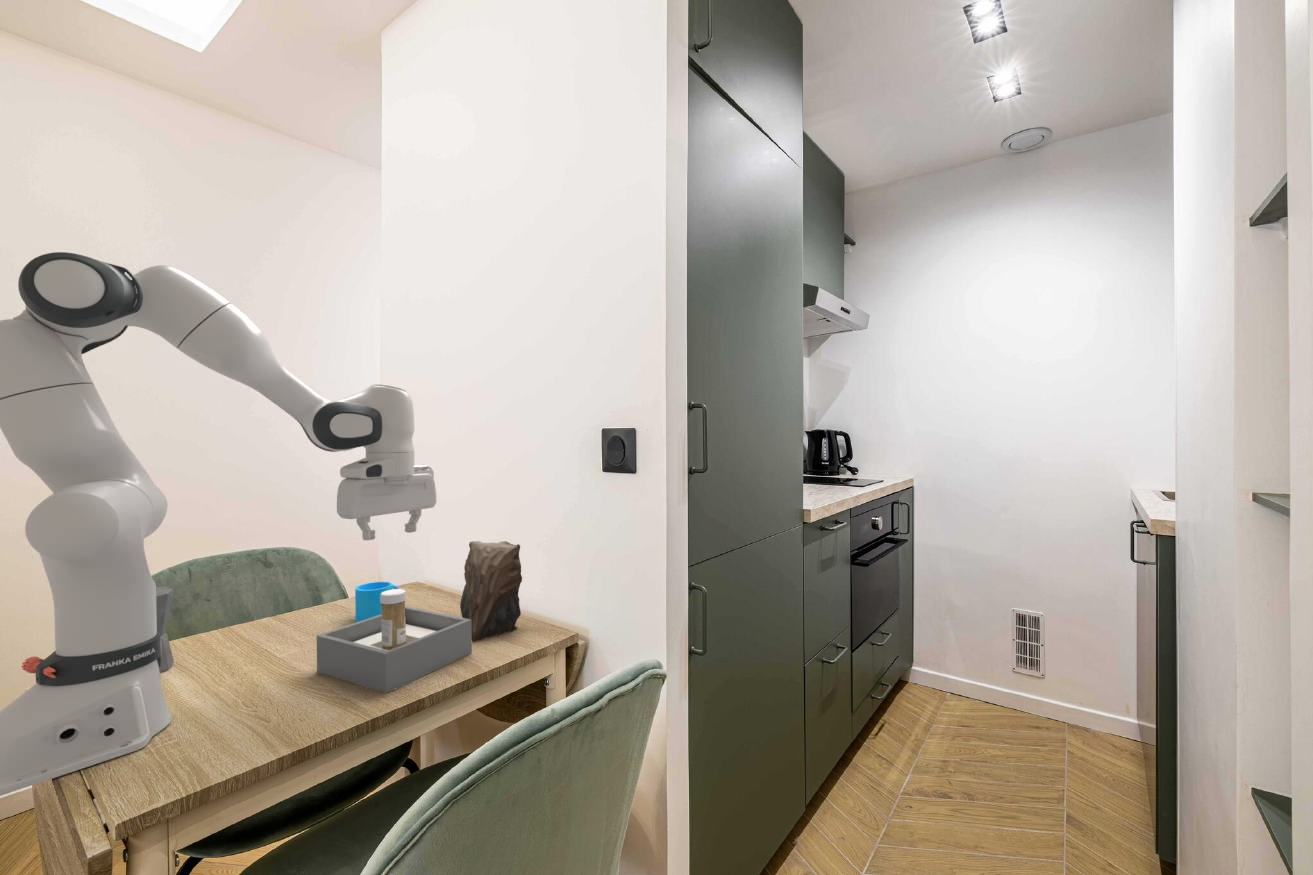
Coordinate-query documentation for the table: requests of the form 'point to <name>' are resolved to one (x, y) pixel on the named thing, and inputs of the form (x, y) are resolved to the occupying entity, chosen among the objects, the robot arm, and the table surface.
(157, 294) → the robot arm
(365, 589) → the mug
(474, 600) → the owl
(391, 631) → the sprinkles bottle
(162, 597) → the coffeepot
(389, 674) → the box
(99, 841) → the table surface
